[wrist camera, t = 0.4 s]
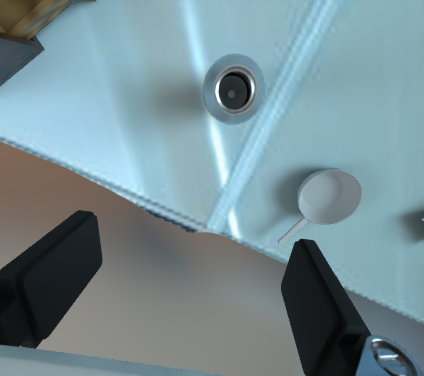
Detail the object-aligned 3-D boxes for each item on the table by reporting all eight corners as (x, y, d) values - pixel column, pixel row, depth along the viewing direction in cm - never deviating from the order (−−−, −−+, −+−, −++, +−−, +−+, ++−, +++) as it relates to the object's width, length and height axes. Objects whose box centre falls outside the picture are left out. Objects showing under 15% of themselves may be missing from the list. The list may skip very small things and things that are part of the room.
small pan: (364, 186, 40) (377, 195, 36) (293, 246, 46) (299, 258, 43) (324, 152, 38) (334, 158, 34) (256, 219, 44) (258, 230, 41)
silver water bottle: (212, 115, 37) (197, 135, 18) (211, 71, 34) (192, 42, 16) (250, 115, 36) (273, 134, 18) (252, 69, 34) (281, 38, 15)
